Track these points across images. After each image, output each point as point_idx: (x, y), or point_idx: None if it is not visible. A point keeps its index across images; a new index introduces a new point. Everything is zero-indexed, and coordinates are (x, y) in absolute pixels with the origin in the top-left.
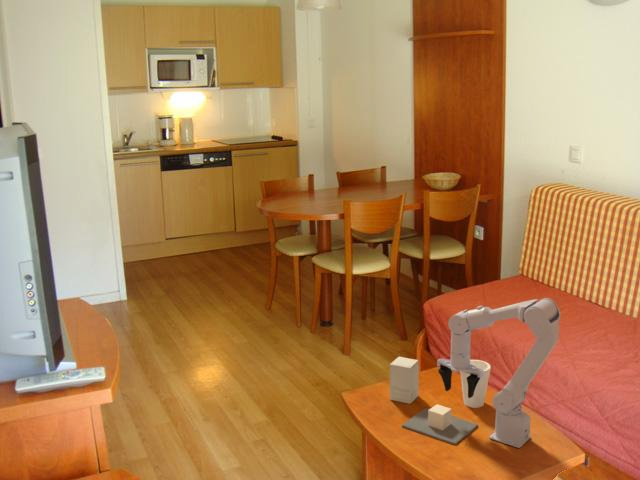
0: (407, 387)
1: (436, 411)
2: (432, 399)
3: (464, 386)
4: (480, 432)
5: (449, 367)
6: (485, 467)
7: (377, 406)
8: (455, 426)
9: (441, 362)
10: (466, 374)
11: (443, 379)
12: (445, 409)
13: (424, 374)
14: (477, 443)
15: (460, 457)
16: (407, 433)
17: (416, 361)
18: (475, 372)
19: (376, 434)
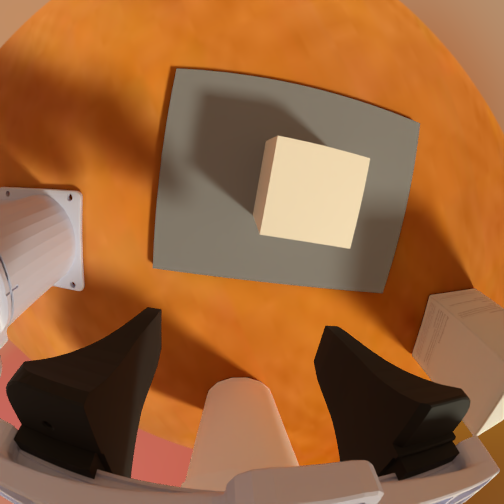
0: (471, 322)
1: (327, 163)
2: None
3: (271, 432)
4: (126, 222)
5: (398, 488)
6: (55, 22)
7: (494, 231)
8: (227, 203)
9: (473, 479)
10: None
11: (388, 367)
12: (288, 210)
13: None
14: (106, 133)
15: (135, 14)
16: (382, 81)
17: (483, 426)
18: (6, 468)
19: (449, 54)
